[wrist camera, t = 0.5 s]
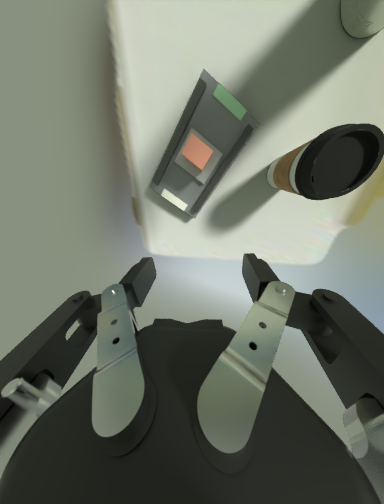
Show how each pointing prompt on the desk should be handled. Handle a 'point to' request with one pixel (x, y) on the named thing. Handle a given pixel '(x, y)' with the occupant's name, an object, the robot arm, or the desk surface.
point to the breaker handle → (198, 156)
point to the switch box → (215, 132)
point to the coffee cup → (330, 162)
